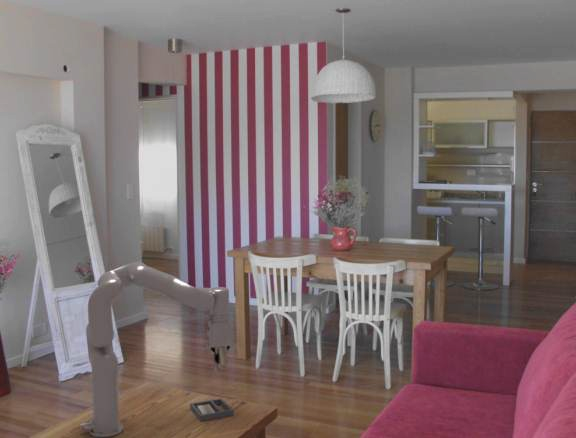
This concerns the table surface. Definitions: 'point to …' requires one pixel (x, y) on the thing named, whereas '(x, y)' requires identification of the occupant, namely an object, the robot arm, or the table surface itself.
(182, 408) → the table surface
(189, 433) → the table surface
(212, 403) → the rack
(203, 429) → the table surface
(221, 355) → the birch sheet
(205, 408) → the offcut upper
